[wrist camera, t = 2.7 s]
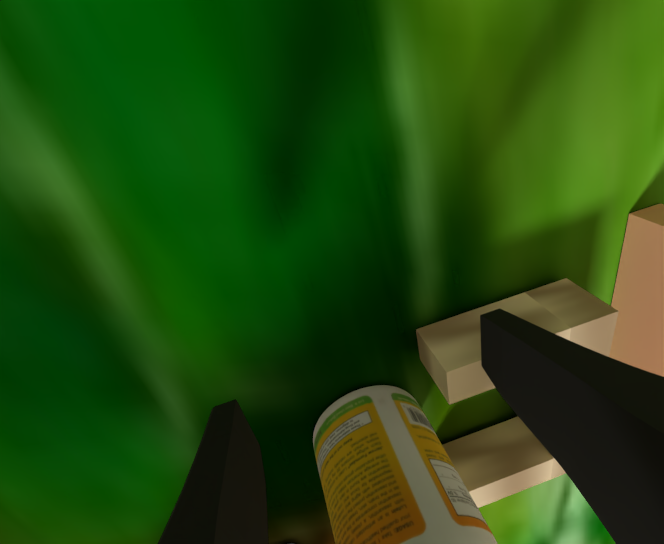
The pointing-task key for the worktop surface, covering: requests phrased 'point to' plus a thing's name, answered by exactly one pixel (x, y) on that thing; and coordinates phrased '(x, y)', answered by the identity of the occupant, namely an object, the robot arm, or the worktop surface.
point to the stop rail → (641, 293)
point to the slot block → (470, 379)
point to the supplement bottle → (391, 474)
